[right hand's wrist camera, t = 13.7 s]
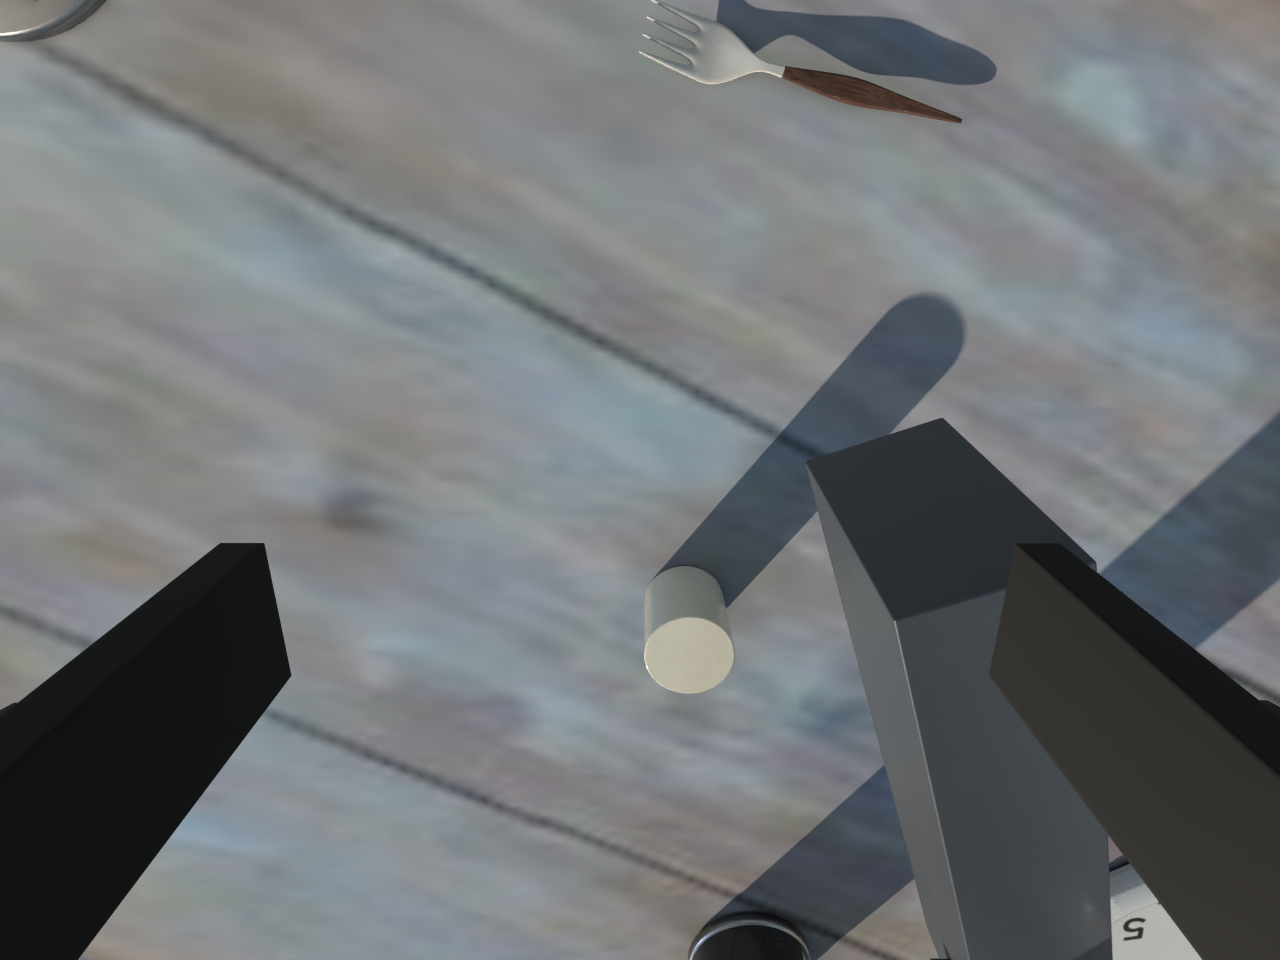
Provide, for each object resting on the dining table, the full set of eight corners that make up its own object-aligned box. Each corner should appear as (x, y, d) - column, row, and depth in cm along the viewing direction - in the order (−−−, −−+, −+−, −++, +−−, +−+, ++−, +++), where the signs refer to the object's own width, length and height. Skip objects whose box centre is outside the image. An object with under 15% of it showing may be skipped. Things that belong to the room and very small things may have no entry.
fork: (946, 151, 36) (963, 147, 34) (638, 65, 34) (637, 57, 33) (967, 94, 35) (985, 87, 33) (651, 4, 34) (651, -8, 32)
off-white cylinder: (644, 565, 44) (644, 616, 38) (725, 565, 44) (737, 616, 38) (643, 634, 46) (643, 693, 40) (721, 635, 46) (732, 694, 40)
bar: (804, 460, 23) (893, 620, 16) (942, 416, 22) (1098, 561, 15) (927, 926, 36) (1006, 1129, 29) (1016, 905, 35) (1119, 1105, 28)
